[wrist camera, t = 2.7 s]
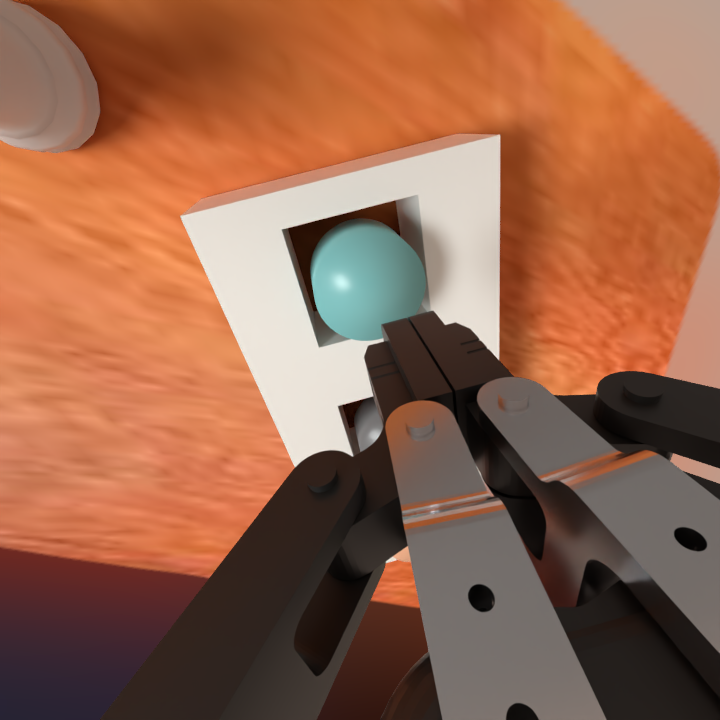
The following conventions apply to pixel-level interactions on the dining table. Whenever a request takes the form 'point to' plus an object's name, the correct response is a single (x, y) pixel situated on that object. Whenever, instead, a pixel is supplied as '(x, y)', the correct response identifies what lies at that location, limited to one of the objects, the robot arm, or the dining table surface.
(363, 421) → the charcoal button
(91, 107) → the rook chess piece
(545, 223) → the dining table surface
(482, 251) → the button console
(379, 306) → the teal button
